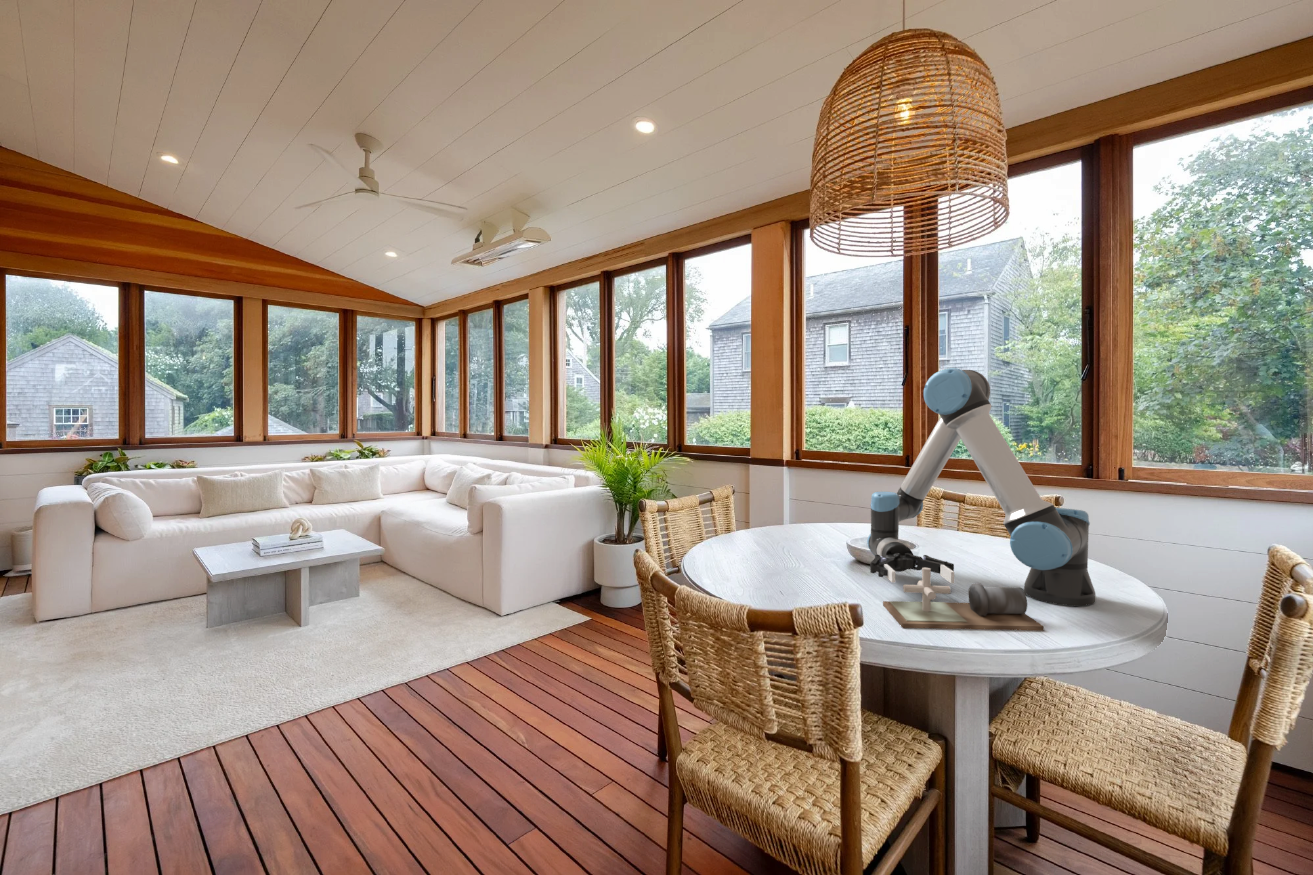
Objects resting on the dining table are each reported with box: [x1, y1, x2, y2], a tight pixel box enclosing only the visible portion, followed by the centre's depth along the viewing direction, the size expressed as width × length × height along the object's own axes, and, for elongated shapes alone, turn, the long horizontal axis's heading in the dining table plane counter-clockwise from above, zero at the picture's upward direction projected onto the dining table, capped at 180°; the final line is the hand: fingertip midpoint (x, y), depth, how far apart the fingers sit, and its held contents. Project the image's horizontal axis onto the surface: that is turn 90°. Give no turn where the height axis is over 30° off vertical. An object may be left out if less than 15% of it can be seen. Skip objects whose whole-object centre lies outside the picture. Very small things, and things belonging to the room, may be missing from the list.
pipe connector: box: [902, 568, 951, 612], centre depth 139 cm, size 10×10×10 cm
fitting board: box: [882, 582, 1045, 632], centre depth 138 cm, size 30×15×8 cm, turn 85°
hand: (923, 577), depth 141 cm, fingers open, 13 cm apart
